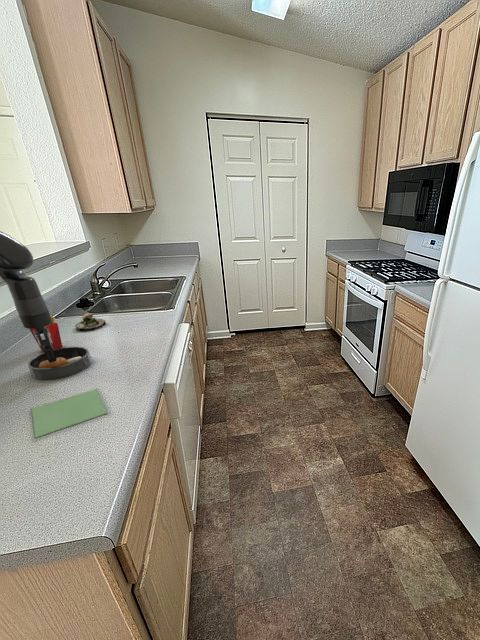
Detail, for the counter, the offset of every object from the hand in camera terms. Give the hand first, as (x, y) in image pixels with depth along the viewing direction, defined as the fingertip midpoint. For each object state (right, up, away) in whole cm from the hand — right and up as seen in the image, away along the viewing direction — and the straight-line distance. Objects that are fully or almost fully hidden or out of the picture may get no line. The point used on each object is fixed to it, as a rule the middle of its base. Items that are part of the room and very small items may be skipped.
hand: (51, 357), depth 111 cm
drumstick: (+1, -3, +2) cm, 4 cm away
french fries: (-13, +3, +17) cm, 21 cm away
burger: (-11, +14, +39) cm, 43 cm away
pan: (+2, -4, +3) cm, 5 cm away
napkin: (+20, -15, -20) cm, 32 cm away
